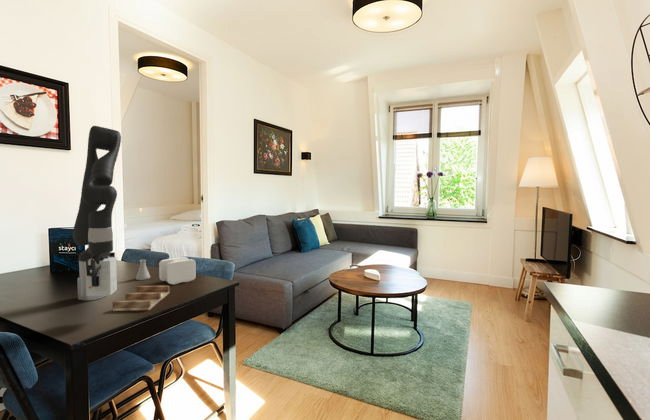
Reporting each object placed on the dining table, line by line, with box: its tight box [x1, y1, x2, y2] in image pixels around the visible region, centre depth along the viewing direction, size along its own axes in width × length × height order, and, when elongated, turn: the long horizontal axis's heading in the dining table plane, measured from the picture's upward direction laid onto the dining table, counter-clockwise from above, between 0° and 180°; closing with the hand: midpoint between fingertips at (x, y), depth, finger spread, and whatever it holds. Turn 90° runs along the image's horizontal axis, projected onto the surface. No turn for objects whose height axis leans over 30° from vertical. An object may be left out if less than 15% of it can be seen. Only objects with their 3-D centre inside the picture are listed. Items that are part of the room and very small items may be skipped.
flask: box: [135, 259, 151, 281], centre depth 177 cm, size 7×7×10 cm
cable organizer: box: [158, 256, 197, 285], centre depth 172 cm, size 15×11×12 cm
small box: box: [85, 256, 118, 296], centre depth 123 cm, size 8×6×13 cm
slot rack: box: [112, 285, 171, 312], centre depth 142 cm, size 14×22×4 cm, turn 5°
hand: (101, 283), depth 123 cm, fingers closed on small box, 6 cm apart
